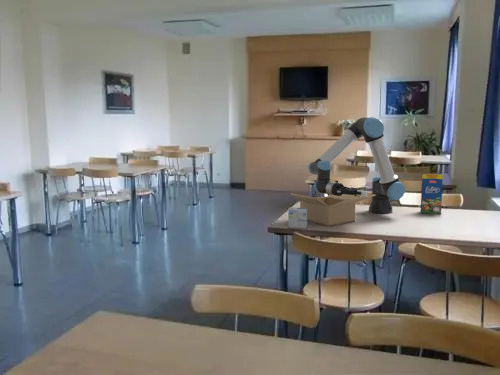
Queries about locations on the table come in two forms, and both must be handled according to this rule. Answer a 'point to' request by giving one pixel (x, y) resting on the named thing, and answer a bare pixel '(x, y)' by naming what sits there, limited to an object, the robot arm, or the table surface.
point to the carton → (328, 209)
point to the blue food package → (431, 194)
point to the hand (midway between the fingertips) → (366, 193)
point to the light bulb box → (297, 218)
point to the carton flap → (352, 200)
